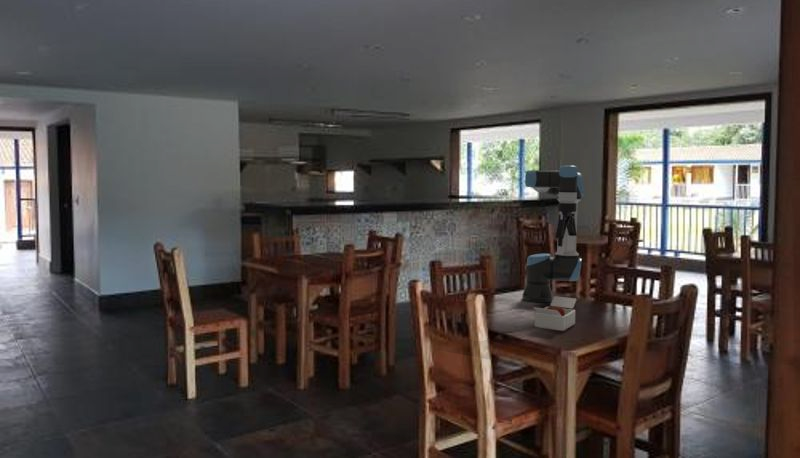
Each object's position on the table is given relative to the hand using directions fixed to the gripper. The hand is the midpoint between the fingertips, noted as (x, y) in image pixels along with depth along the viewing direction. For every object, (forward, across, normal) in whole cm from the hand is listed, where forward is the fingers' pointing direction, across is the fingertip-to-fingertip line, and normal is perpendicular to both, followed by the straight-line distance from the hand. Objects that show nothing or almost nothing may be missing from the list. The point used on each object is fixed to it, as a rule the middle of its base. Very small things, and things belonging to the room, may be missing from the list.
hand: (565, 252), depth 268 cm
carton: (+31, +6, -2) cm, 31 cm away
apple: (+30, +6, -2) cm, 31 cm away
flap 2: (+22, -5, -2) cm, 23 cm away
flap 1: (+23, +16, -2) cm, 28 cm away
